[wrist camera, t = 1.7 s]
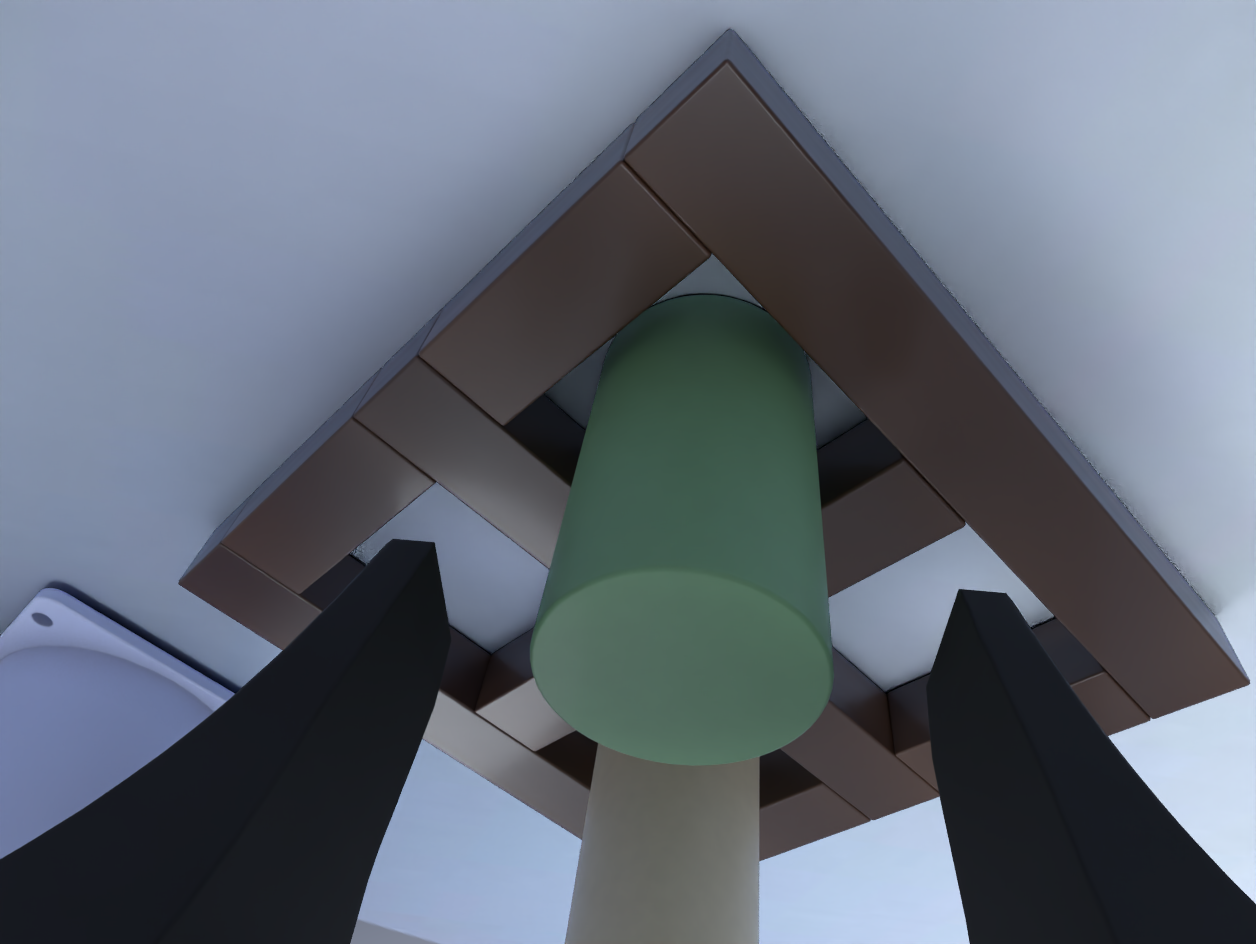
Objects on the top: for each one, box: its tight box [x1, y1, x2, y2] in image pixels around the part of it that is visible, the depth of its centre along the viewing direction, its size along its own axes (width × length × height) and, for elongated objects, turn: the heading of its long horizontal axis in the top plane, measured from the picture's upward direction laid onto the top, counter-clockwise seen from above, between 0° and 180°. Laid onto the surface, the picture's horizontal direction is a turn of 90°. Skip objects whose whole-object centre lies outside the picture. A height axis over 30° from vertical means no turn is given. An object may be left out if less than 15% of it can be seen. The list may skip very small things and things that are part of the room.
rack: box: [178, 29, 1250, 861], centre depth 20 cm, size 16×16×2 cm
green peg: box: [530, 295, 834, 766], centre depth 15 cm, size 4×4×7 cm
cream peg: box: [565, 743, 760, 944], centre depth 21 cm, size 4×4×7 cm
